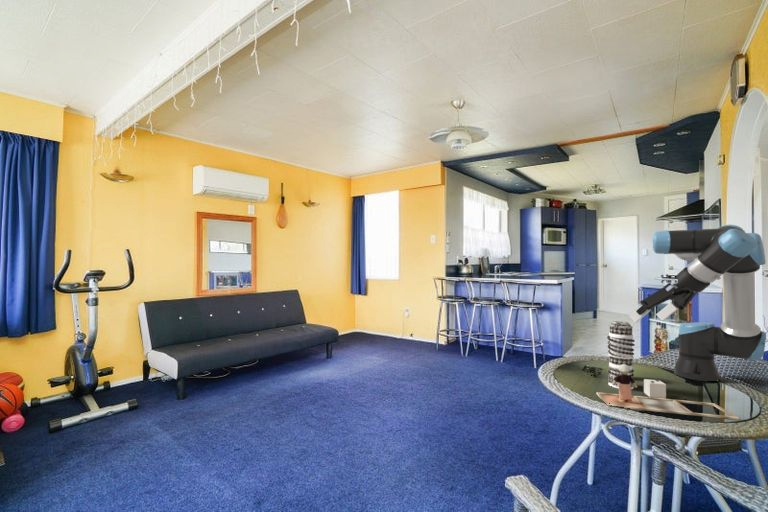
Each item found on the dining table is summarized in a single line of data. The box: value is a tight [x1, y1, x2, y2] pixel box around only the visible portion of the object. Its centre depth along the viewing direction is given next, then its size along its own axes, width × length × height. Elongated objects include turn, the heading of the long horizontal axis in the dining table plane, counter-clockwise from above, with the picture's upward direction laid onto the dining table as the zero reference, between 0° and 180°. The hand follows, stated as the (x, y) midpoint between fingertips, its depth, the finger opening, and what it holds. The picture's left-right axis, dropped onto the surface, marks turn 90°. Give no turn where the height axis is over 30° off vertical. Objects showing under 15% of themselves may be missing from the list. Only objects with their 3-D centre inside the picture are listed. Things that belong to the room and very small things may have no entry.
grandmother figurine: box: [612, 364, 638, 403], centre depth 127 cm, size 8×4×13 cm, turn 90°
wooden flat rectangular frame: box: [596, 391, 741, 421], centre depth 124 cm, size 36×13×1 cm, turn 75°
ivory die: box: [643, 378, 667, 399], centre depth 134 cm, size 5×5×6 cm
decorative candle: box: [606, 320, 636, 390], centre depth 144 cm, size 9×9×25 cm
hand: (646, 318), depth 123 cm, fingers open, 13 cm apart
